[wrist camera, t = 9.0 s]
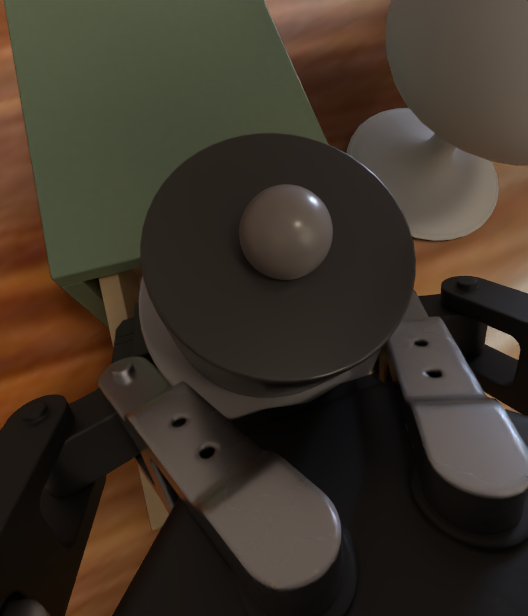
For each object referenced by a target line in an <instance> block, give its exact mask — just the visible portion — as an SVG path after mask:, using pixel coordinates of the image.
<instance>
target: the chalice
mask: <svg viewBox="0 0 528 616" xmlns="http://www.w3.org/2000/svg"><path fill="white" fill-rule="evenodd" d="M386 56H387V59H388V62H389V65H390V69H391V72H392V76H393V80H394V83H395V86H396V87H397V89H398V91H399V93H400V95H401V96H402V98H403V100H404V102H405V104H406V105H407V106H408V107H409V108H397V109H392V110H388V111H383V112H381V113H378V114H376V115H374V116H372V117H370V118H369V119H367V120H366V121H365V122H364V123H362V124H361V125H360V126H359V127H358V128H357V130H356V131H355V133H354V134H353V135H352V137H351V139H350V142H349V145H348V148H347V154H348V155H350V156H352V157H353V158H354V159H356V160H357V161H359V162H360V163H362V164H363V165H364V166H365V167H367V168H368V169H369V170H370V171H371V172H372V173H374V174H375V175H376V176H377V177H378V178H379V179H380V181H381V182H382V183H383V184H384V185H385V186H386V187H387V188H388V190H389V191H390V193H391V194H392V195H393V197H394V198H395V199H396V201H397V203H398V205H399V206H400V208H401V210H402V212H403V214H404V216H405V218H406V221H407V223H408V226H409V228H410V232H411V236H413V237H415V238H421V239H427V240H434V241H435V240H452V239H455V238H459V237H462V236H466V235H468V234H470V233H472V232H473V231H475V230H477V229H478V228H480V227H481V226H482V225H483V224H484V223H485V222H486V221H487V220H488V218H489V217H490V216H491V214H492V212H493V210H494V208H495V206H496V204H497V198H498V192H499V186H498V177H497V173H496V170H495V167H494V164H493V162H499V163H505V164H510V165H516V166H519V165H528V0H391V4H390V7H389V11H388V15H387V18H386ZM492 161H493V162H492Z"/></svg>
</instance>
